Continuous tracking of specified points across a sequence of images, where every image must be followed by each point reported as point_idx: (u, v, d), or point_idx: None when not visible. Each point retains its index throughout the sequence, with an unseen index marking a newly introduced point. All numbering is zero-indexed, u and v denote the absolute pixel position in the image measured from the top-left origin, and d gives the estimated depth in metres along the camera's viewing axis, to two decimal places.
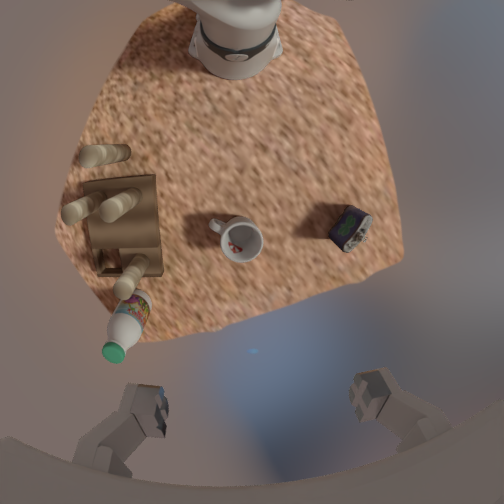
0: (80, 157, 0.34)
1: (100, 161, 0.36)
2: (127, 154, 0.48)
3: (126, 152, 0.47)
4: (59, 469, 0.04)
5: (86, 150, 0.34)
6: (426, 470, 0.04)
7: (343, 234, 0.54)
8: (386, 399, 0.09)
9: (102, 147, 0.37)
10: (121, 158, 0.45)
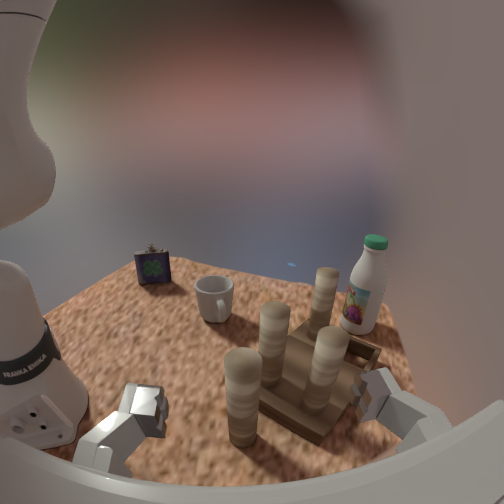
0: (253, 367, 0.23)
1: None
2: None
3: None
4: (59, 469, 0.04)
5: (237, 366, 0.23)
6: (426, 470, 0.04)
7: (159, 264, 0.67)
8: (386, 399, 0.09)
9: None
10: None
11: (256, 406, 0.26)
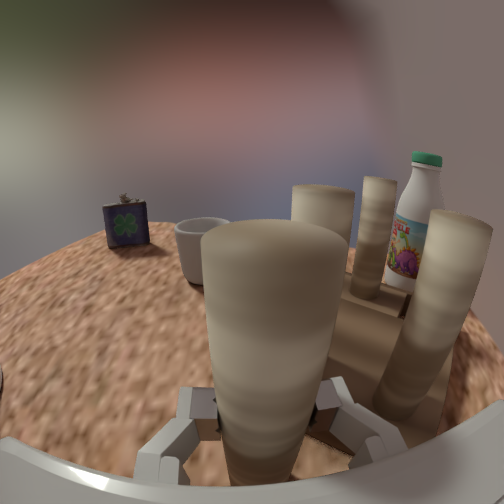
0: (324, 253, 0.06)
1: None
2: None
3: None
4: (59, 469, 0.04)
5: (254, 251, 0.06)
6: (426, 470, 0.04)
7: (134, 218, 0.49)
8: (336, 411, 0.08)
9: None
10: None
11: (307, 422, 0.08)
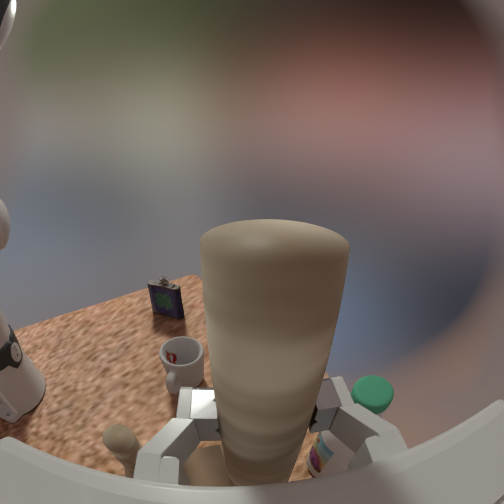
0: (326, 254, 0.06)
1: None
2: None
3: None
4: (59, 469, 0.04)
5: (254, 252, 0.06)
6: (426, 470, 0.04)
7: (170, 299, 0.63)
8: (336, 411, 0.08)
9: None
10: None
11: (308, 424, 0.08)
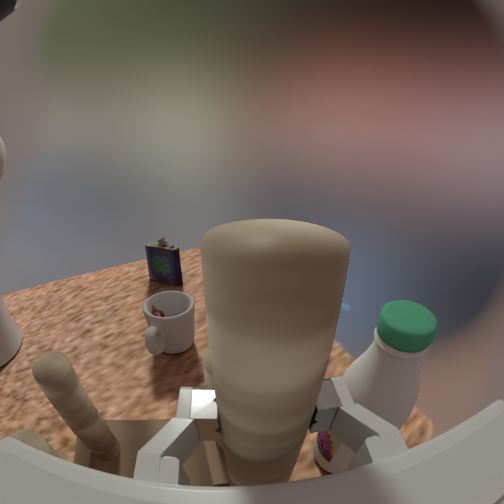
0: (327, 253, 0.06)
1: None
2: None
3: None
4: (59, 469, 0.04)
5: (255, 251, 0.06)
6: (426, 470, 0.04)
7: (167, 262, 0.58)
8: (336, 411, 0.08)
9: None
10: None
11: (308, 424, 0.08)
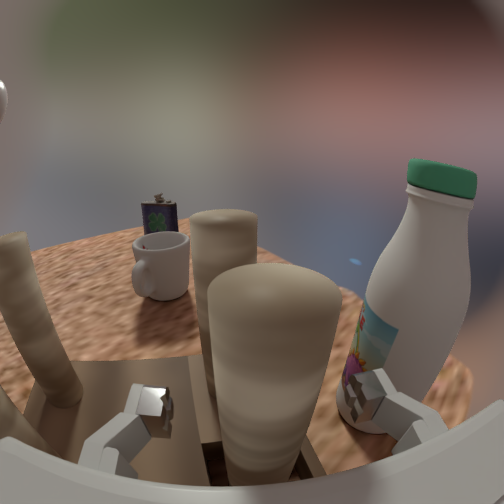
0: (320, 309, 0.06)
1: None
2: None
3: None
4: (59, 469, 0.04)
5: (256, 308, 0.06)
6: (426, 470, 0.04)
7: (164, 218, 0.54)
8: (381, 400, 0.09)
9: None
10: None
11: (302, 440, 0.09)
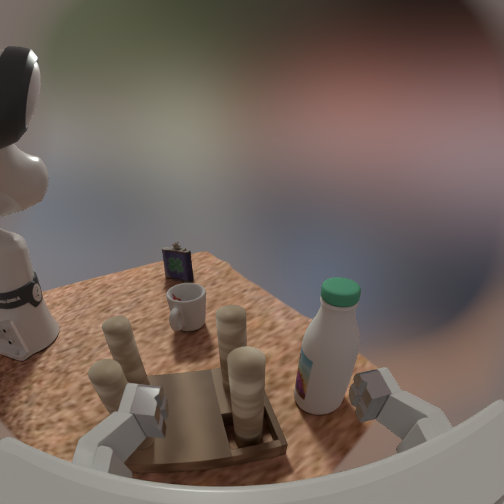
0: (257, 365, 0.23)
1: None
2: None
3: None
4: (59, 469, 0.04)
5: (240, 365, 0.23)
6: (426, 470, 0.04)
7: (181, 262, 0.72)
8: (386, 399, 0.09)
9: None
10: None
11: (261, 405, 0.26)
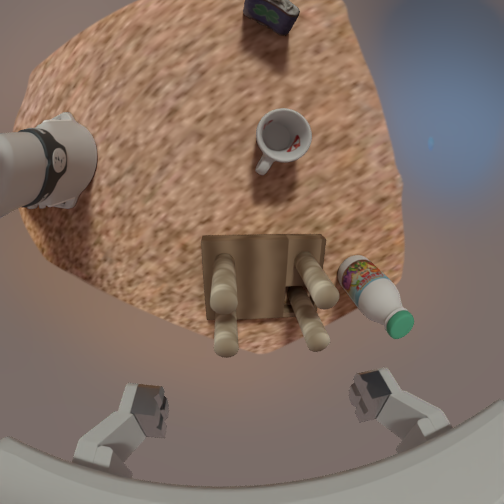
0: (322, 348, 0.40)
1: (317, 327, 0.40)
2: (295, 289, 0.52)
3: (294, 292, 0.51)
4: (59, 469, 0.04)
5: (313, 347, 0.39)
6: (426, 470, 0.04)
7: (277, 17, 0.30)
8: (386, 399, 0.09)
9: (303, 330, 0.42)
10: (303, 296, 0.49)
11: None
